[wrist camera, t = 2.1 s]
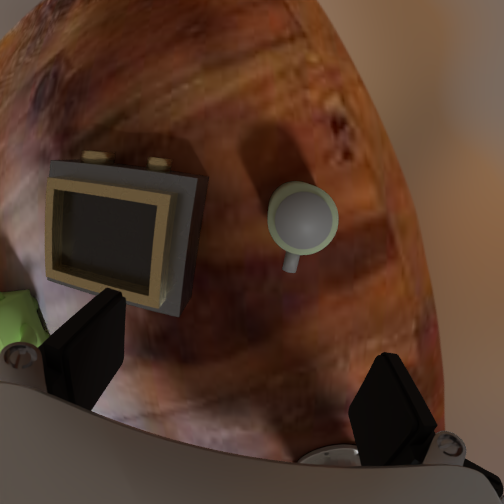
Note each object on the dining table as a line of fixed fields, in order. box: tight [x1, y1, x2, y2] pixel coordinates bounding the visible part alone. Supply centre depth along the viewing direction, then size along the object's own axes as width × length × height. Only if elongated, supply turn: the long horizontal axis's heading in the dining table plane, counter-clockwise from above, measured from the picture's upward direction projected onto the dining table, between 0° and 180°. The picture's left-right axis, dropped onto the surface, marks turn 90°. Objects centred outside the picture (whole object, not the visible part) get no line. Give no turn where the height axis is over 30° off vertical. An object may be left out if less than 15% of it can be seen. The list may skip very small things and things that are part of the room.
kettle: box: [0, 289, 50, 352], centre depth 31 cm, size 15×14×11 cm
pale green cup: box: [268, 181, 338, 273], centre depth 27 cm, size 6×8×7 cm
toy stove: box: [45, 150, 209, 317], centre depth 28 cm, size 16×14×7 cm
